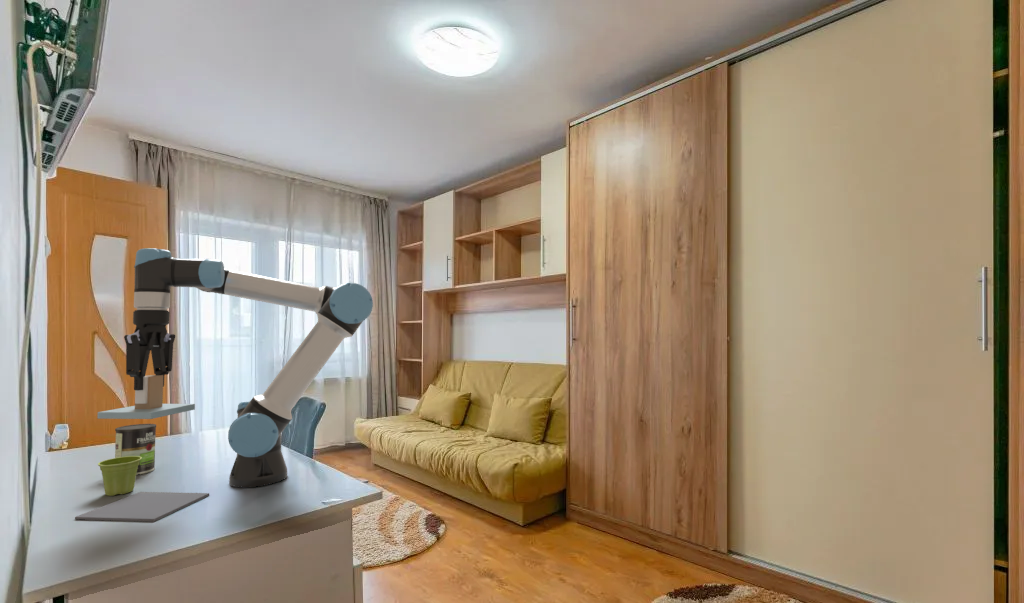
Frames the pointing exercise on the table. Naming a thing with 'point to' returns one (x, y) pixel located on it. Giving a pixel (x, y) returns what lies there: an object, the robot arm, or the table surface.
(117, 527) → the table surface
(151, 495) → the mat
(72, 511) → the table surface
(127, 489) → the plant pot
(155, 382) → the cover lid
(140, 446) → the coffee can
